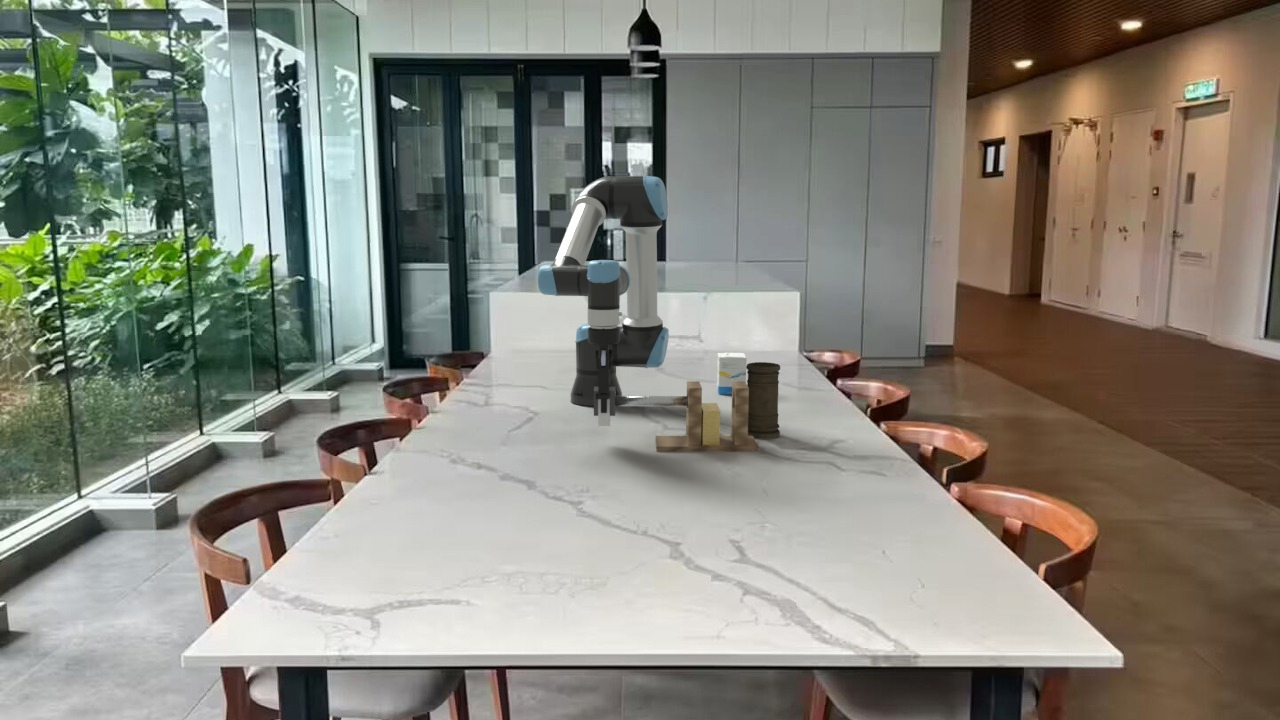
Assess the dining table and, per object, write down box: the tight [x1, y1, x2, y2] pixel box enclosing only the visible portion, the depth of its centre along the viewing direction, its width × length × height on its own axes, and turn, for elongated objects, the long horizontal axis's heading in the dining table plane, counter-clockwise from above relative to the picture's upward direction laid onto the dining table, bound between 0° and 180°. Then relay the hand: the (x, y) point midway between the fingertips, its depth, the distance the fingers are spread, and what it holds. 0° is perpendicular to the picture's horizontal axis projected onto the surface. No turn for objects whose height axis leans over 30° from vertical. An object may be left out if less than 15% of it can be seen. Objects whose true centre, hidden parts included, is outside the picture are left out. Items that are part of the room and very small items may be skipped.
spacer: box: [701, 402, 721, 446], centre depth 221 cm, size 4×8×8 cm, turn 1°
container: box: [746, 361, 781, 440], centre depth 231 cm, size 9×9×18 cm
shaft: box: [593, 387, 688, 417], centre depth 220 cm, size 24×5×6 cm, turn 91°
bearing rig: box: [654, 380, 760, 452], centre depth 221 cm, size 24×10×15 cm, turn 91°
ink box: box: [716, 352, 747, 396], centre depth 283 cm, size 9×8×12 cm
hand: (604, 422), depth 221 cm, fingers closed on shaft, 5 cm apart
